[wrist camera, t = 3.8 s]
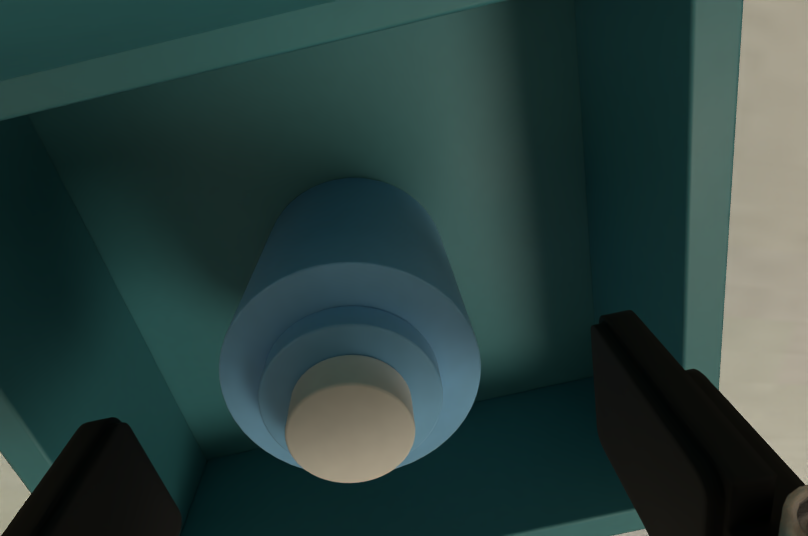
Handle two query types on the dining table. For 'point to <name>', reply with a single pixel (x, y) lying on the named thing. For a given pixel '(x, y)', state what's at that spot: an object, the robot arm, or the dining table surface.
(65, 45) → the lid
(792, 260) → the dining table surface
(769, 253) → the dining table surface
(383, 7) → the teal hollow box
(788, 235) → the dining table surface
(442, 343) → the water bottle
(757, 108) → the dining table surface
